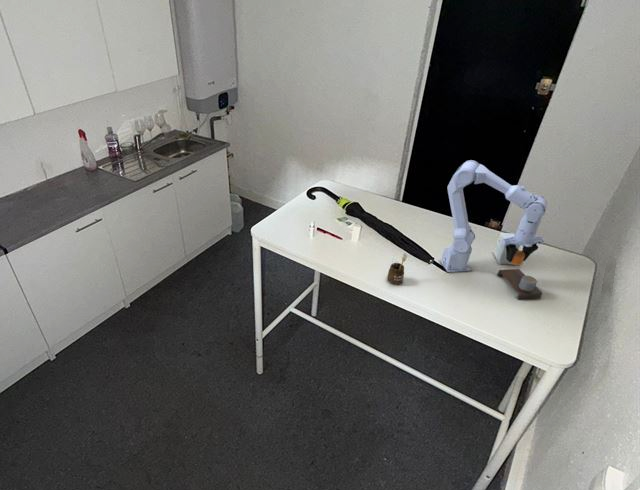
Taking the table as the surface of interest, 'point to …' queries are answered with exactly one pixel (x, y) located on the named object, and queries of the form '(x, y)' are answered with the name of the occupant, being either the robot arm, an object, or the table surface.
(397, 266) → the utensil holder
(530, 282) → the grey tape
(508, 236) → the small box
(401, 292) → the table surface
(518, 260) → the orange tape
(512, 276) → the brown rectangular block
